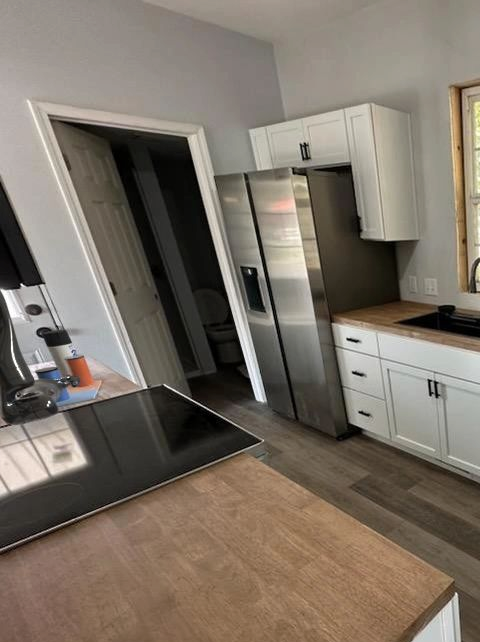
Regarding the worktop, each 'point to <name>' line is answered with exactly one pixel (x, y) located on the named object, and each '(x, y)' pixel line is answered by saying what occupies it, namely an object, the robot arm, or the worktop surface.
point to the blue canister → (52, 374)
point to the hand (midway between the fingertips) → (52, 380)
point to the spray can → (60, 349)
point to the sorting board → (81, 393)
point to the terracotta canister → (80, 369)
